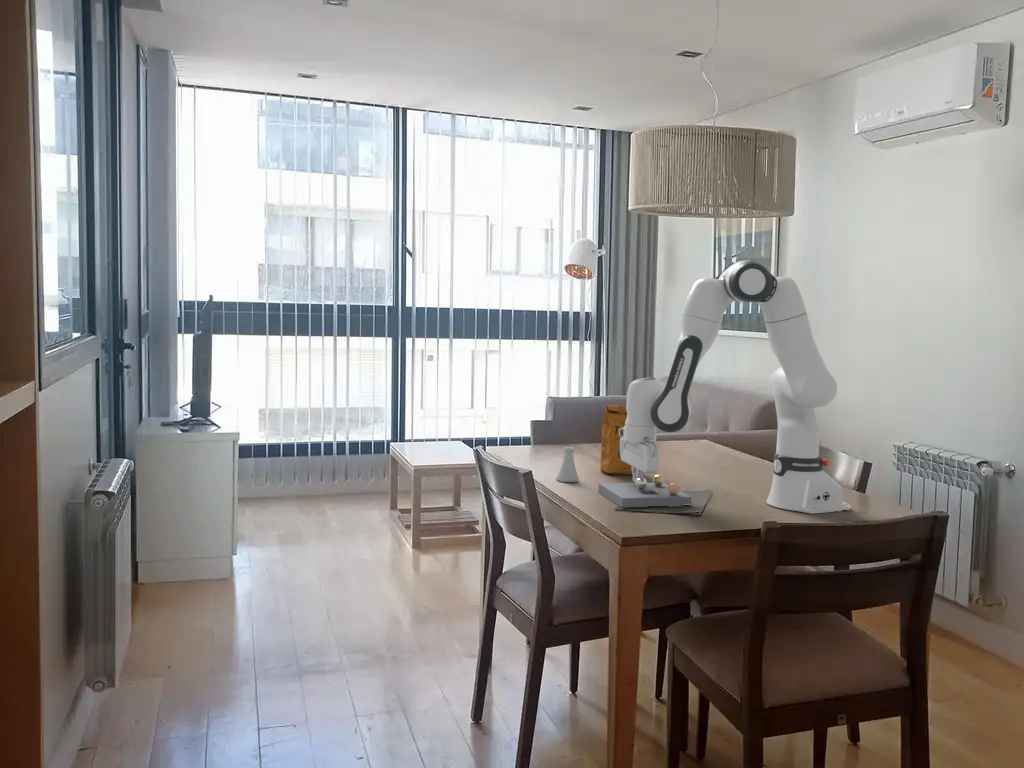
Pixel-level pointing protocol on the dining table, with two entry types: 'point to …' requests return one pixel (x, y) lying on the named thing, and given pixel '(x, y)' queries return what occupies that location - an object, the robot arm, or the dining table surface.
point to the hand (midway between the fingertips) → (637, 482)
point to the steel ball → (641, 482)
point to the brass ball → (658, 480)
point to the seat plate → (642, 495)
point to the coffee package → (613, 441)
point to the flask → (568, 467)
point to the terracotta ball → (673, 488)
